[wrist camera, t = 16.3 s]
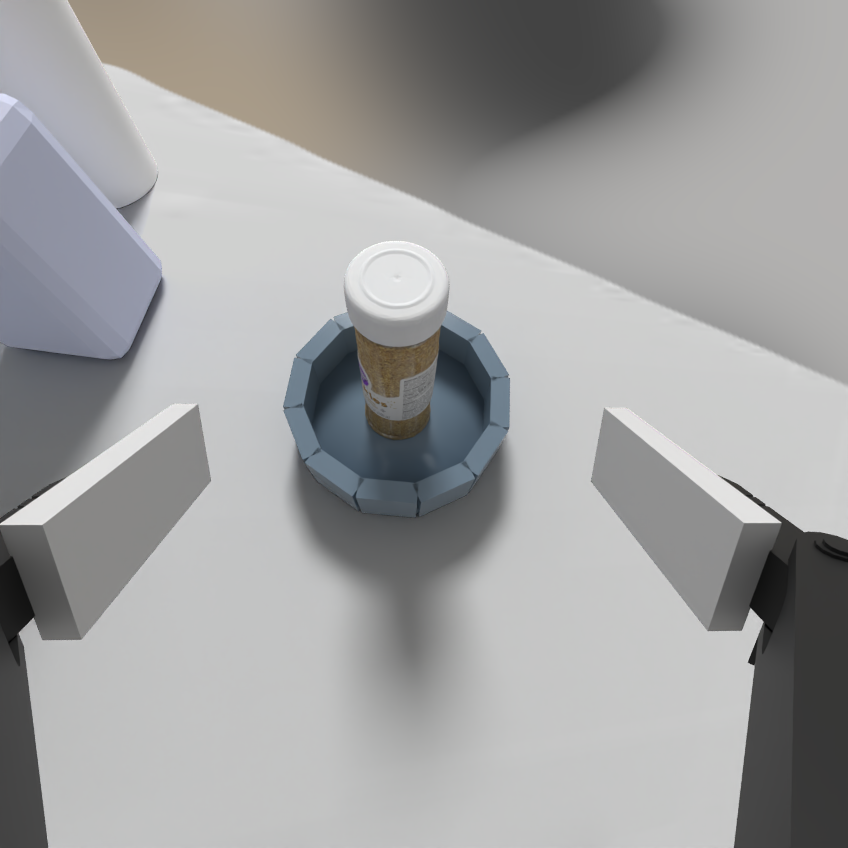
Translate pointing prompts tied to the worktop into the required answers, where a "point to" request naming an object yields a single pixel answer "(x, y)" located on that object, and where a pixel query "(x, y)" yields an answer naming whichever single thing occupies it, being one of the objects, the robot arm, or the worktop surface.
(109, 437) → the worktop surface
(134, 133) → the cup
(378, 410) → the sprinkles bottle
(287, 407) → the bowl
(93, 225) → the soap bottle
